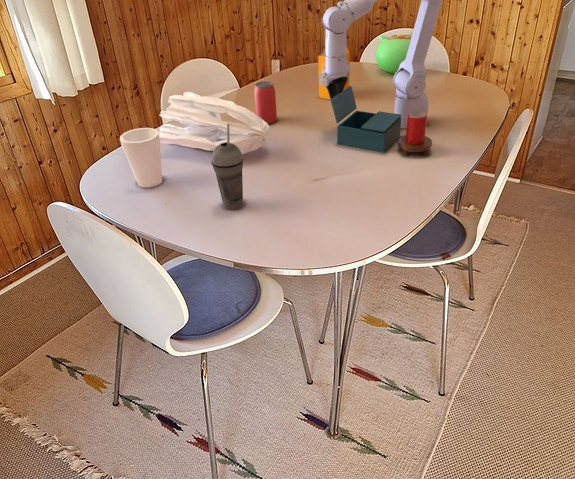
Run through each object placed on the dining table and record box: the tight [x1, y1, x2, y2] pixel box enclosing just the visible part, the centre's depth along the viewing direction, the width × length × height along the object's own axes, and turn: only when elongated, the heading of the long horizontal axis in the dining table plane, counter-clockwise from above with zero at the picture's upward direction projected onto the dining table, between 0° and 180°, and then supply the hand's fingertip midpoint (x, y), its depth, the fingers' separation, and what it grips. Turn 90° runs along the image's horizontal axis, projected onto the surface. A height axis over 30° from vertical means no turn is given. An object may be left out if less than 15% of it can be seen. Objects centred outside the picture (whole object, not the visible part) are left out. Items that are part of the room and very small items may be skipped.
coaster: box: [397, 134, 433, 156], centre depth 135 cm, size 9×9×4 cm
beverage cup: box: [210, 124, 244, 211], centre depth 112 cm, size 7×7×20 cm
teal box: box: [336, 110, 402, 154], centre depth 141 cm, size 14×13×7 cm
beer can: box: [253, 80, 278, 125], centre depth 157 cm, size 7×7×12 cm
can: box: [405, 111, 428, 145], centre depth 131 cm, size 5×5×8 cm
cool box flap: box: [330, 85, 358, 125], centre depth 141 cm, size 7×13×1 cm
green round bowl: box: [375, 32, 413, 74], centre depth 191 cm, size 18×17×15 cm
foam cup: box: [119, 127, 163, 189], centre depth 126 cm, size 10×9×13 cm
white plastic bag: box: [158, 91, 270, 155], centre depth 140 cm, size 17×18×35 cm
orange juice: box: [317, 45, 351, 100], centre depth 171 cm, size 8×9×20 cm
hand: (335, 103), depth 144 cm, fingers closed, pressing on cool box flap
